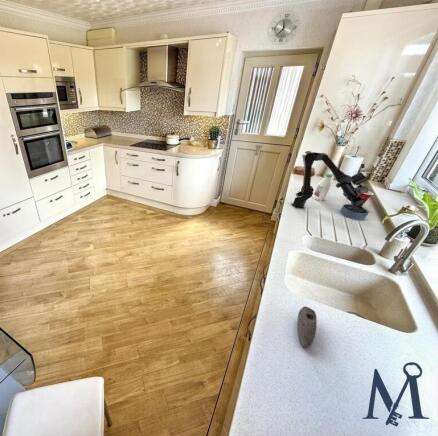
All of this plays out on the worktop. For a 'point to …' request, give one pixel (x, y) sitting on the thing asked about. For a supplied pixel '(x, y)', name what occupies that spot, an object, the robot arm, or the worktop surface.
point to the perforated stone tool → (306, 326)
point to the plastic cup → (366, 196)
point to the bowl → (348, 212)
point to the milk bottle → (323, 187)
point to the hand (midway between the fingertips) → (359, 206)
